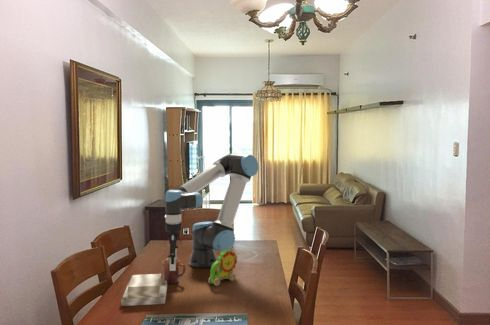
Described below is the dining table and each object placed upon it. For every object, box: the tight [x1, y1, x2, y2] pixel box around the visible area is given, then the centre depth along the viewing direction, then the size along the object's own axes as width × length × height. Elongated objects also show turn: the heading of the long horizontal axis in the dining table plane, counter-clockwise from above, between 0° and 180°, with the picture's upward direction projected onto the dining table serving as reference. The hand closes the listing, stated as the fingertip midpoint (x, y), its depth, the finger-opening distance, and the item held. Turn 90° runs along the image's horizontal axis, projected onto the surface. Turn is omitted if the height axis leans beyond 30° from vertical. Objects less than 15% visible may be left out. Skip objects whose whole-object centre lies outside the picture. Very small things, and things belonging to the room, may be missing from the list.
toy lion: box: [208, 249, 238, 287], centre depth 205 cm, size 16×5×15 cm, turn 134°
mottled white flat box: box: [120, 273, 168, 307], centre depth 186 cm, size 18×18×8 cm
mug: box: [161, 258, 187, 285], centre depth 204 cm, size 12×9×10 cm
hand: (173, 266), depth 203 cm, fingers open, 13 cm apart
